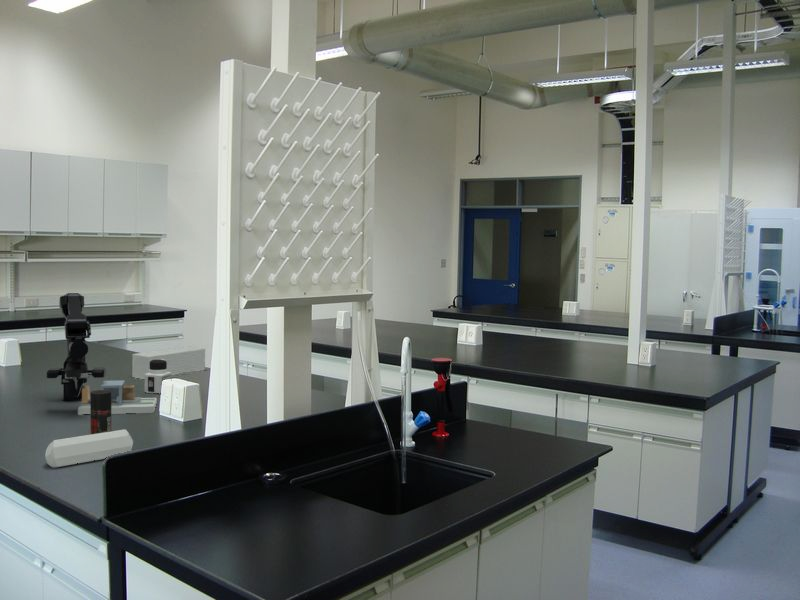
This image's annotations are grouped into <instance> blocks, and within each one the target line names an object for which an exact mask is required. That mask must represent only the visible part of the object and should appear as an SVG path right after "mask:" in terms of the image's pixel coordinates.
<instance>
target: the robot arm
mask: <svg viewBox="0 0 800 600" xmlns="http://www.w3.org/2000/svg"><path fill="white" fill-rule="evenodd" d="M58 302H59V303H58V304H59V309H60V310H61V315H62V316H63V317H64V319H65V321H64V335H65V340H66V359H65V361H64V362H63V364H62V367H50V369H48V370H47V371H46V379H57V378H58V377H59V376H60V385H63V386H62V387H63V388H62V389H63V393H62V394H63V398H62V401H64V402H65V401H82V388H83V387H84V386H85V385H83V384H86V383H87V382H88V379H89V378H90V376H92V377H93V378H94V379H96V378H97V379H98V378H100V379H102V378H105V376H106V375H107V368H106V367H100V366H99V367H98V366H97V367H96V366H95V367H93V368H92V369H88V362H86V358H87V356H86V355H88V352H89V346H88V344H87V342H86V341H87V340H86V339H90V337H91V335H92V329H91V323H90V322H89V320H87V316H86V315H85V314H83V313H82V311H83V309H84V308H85V296H84V295H82V294H81V293H79V292H68V293H65V294H64V295H61V296H59V301H58Z"/></svg>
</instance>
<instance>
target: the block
mask: <svg viewBox="0 0 800 600" xmlns="http://www.w3.org/2000/svg"><path fill="white" fill-rule="evenodd" d="M135 386H136V385H134V384H128V385H127V384H125V385H123V386H122V400H134V398H135V397H136V396H135V395H136V393H135V392H136V391H135V390H136V389H135Z"/></svg>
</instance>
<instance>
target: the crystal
mask: <svg viewBox="0 0 800 600" xmlns="http://www.w3.org/2000/svg"><path fill="white" fill-rule="evenodd" d="M133 444H134V440H133V437H132V436H131V434H130V433H129V432H128V431H127V429H126V428H125V429H119V430H118V429H117V430H113V431H112V430H111V432H104V433H98V434H91V433H90V434H85V435H78V436H72V437H66V438H60V439H53V441H51V442H50V443H49V444H48V446H47V448H46V450H45V456H44V457H45V460H46V463H47V465H49V466H50V467H51V468H60V467H65V466H71V465H77V463H78V464H83V463H88V462H94V460H95V461H99V460H106V459H107V458H106V457H108V456H111V455H114V454H118V453H124V452H127V451H131V452H132V449H133ZM105 458H106V459H105Z"/></svg>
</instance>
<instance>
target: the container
mask: <svg viewBox="0 0 800 600" xmlns="http://www.w3.org/2000/svg"><path fill="white" fill-rule="evenodd" d="M166 371H167V361H165V360H163V359H155V360H152V361H150V372H149V373H146V374H145V380H144V393H145V392H146V393H145V394H153V393H159V394H158V395H161V394H160V392H161V385H162V381H163V380H165V379H171V380H172V377H171V372H166Z"/></svg>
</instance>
